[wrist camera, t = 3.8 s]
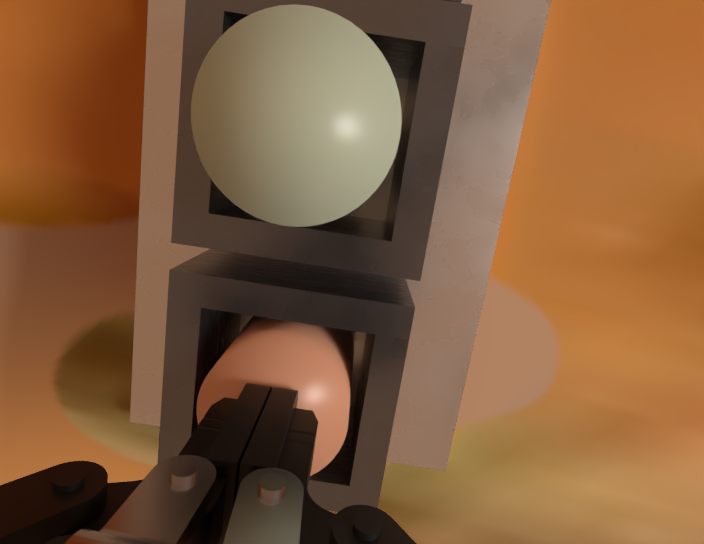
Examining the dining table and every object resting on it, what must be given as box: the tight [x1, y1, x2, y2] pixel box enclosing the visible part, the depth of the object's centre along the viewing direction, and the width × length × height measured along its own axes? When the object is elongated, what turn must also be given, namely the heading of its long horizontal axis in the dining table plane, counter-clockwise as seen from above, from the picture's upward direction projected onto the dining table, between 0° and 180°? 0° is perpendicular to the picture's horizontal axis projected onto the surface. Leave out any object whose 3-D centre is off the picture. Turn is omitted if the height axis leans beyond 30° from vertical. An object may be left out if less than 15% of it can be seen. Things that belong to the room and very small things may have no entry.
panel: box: [130, 0, 551, 512], centre depth 15 cm, size 14×26×6 cm, turn 172°
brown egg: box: [197, 316, 354, 476], centre depth 16 cm, size 4×4×5 cm
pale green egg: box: [191, 4, 402, 227], centre depth 12 cm, size 4×4×5 cm
